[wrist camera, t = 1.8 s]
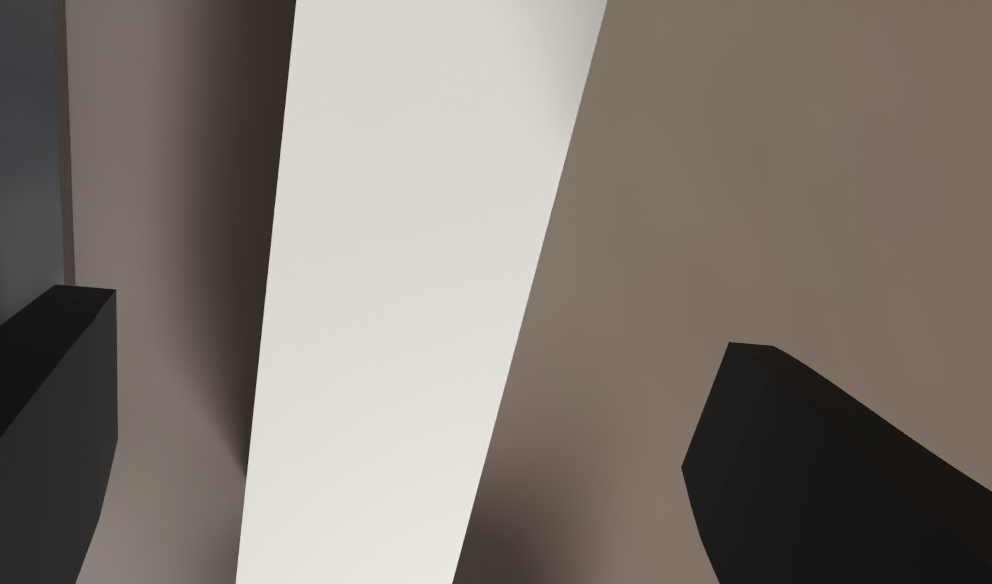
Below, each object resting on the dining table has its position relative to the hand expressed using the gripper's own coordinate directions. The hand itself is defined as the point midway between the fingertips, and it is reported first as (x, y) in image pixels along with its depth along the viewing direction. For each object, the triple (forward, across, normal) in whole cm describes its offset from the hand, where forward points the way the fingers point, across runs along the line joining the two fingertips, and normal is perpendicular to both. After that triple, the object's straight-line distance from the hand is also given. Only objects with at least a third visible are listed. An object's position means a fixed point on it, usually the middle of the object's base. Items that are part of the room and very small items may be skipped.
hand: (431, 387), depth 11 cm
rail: (+8, 0, 0) cm, 8 cm away
